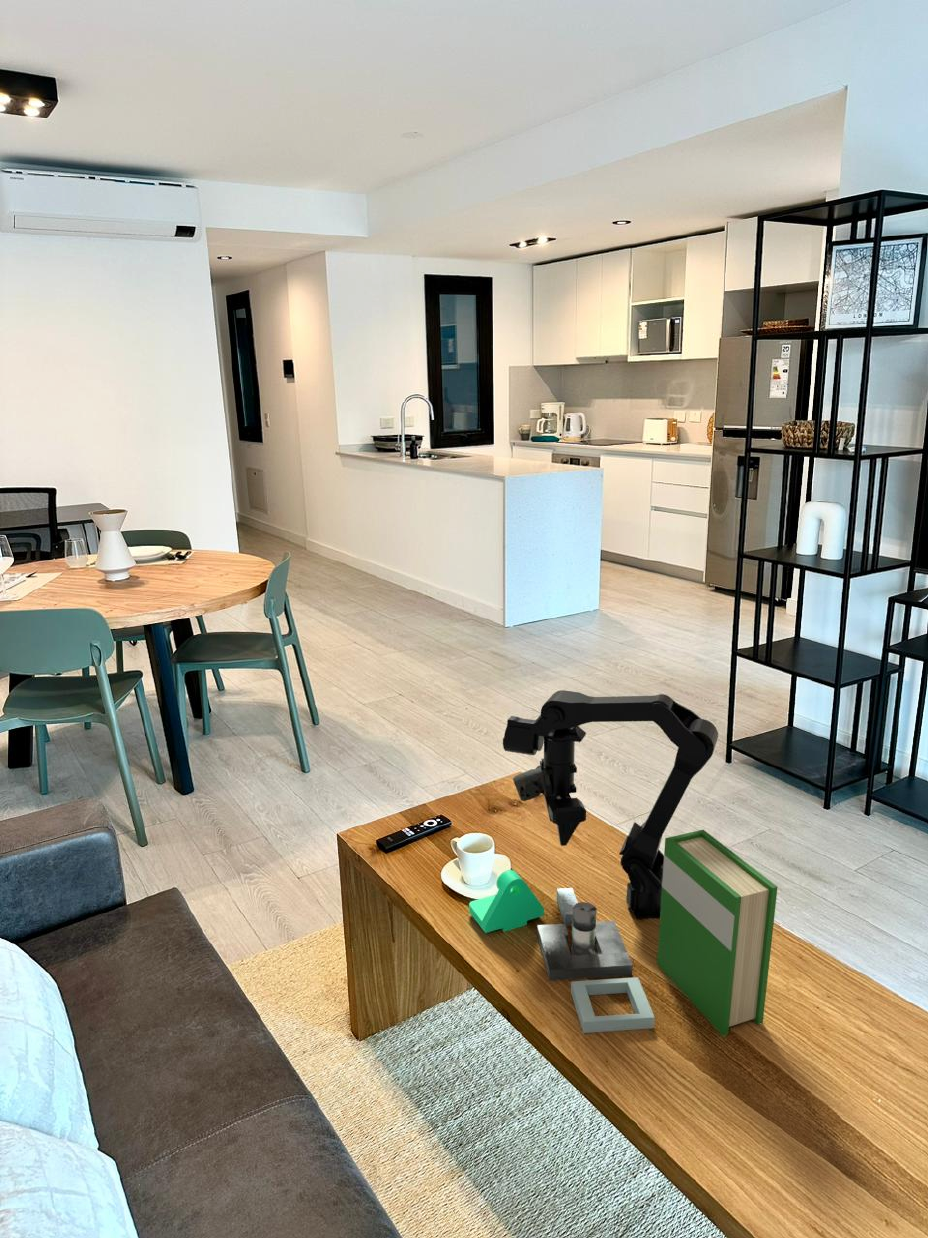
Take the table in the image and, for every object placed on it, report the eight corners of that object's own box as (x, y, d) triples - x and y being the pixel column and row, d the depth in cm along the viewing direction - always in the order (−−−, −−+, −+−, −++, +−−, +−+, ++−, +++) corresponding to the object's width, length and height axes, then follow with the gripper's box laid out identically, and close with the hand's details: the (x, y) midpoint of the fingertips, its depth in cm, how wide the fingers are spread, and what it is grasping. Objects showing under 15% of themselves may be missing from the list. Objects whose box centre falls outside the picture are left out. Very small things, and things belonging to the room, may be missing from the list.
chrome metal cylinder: (591, 946, 147) (593, 901, 145) (597, 961, 144) (599, 915, 141) (569, 947, 147) (570, 903, 145) (573, 962, 143) (575, 917, 141)
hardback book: (762, 1023, 130) (777, 886, 123) (723, 1036, 127) (736, 897, 121) (693, 953, 145) (703, 829, 139) (656, 964, 143) (665, 838, 136)
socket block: (613, 930, 152) (614, 920, 151) (632, 975, 140) (632, 965, 140) (537, 934, 151) (537, 925, 150) (549, 980, 139) (549, 970, 138)
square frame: (637, 987, 137) (637, 977, 137) (653, 1028, 129) (654, 1017, 128) (570, 992, 136) (571, 981, 136) (583, 1033, 128) (583, 1022, 127)
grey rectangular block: (572, 899, 161) (572, 888, 160) (581, 925, 153) (581, 913, 152) (556, 900, 161) (557, 888, 160) (565, 926, 153) (565, 914, 152)
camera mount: (523, 898, 162) (524, 851, 159) (543, 920, 155) (545, 871, 152) (467, 914, 157) (467, 866, 154) (485, 938, 150) (485, 888, 147)
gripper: (508, 741, 165) (508, 812, 170) (525, 783, 148) (525, 862, 152) (563, 737, 167) (562, 808, 171) (587, 779, 149) (585, 857, 153)
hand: (557, 833), depth 162 cm, fingers open, 9 cm apart
